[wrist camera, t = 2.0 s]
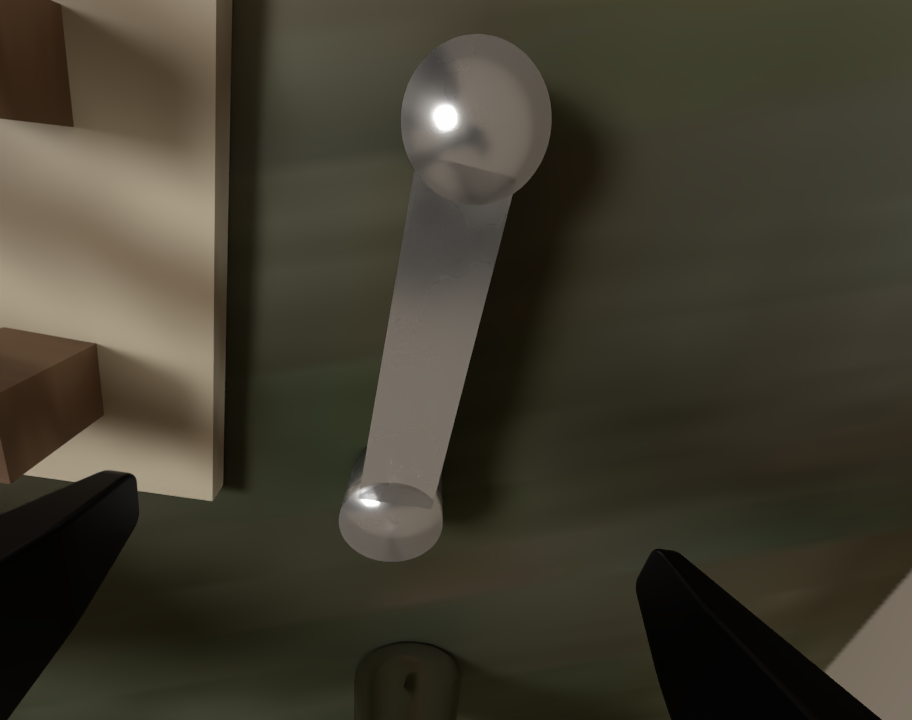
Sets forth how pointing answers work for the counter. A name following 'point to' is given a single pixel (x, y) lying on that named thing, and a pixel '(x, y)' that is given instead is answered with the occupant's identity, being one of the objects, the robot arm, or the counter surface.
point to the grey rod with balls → (442, 277)
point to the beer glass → (407, 684)
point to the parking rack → (114, 240)
